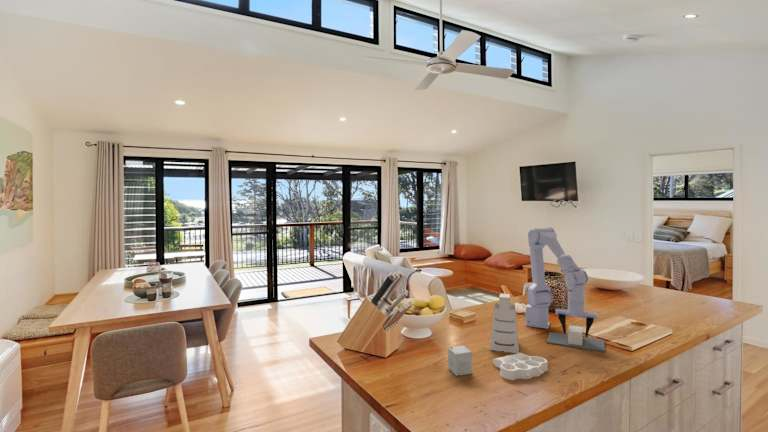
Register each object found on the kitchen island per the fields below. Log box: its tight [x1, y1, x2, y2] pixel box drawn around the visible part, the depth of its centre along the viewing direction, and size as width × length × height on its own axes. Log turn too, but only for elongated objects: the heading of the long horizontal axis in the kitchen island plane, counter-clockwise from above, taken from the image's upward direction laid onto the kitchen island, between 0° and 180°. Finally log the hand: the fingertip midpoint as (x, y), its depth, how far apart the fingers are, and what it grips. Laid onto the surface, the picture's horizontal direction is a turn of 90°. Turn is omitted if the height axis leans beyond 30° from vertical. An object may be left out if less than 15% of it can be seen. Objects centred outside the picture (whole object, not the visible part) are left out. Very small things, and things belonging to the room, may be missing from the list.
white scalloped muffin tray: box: [492, 352, 549, 381], centre depth 128 cm, size 3×18×15 cm
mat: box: [546, 331, 606, 353], centre depth 152 cm, size 20×12×1 cm, turn 61°
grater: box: [489, 293, 520, 354], centre depth 148 cm, size 10×10×20 cm
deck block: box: [567, 324, 584, 346], centre depth 152 cm, size 9×5×4 cm, turn 152°
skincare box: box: [447, 345, 473, 377], centre depth 128 cm, size 6×6×7 cm
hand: (575, 334), depth 152 cm, fingers open, 7 cm apart
